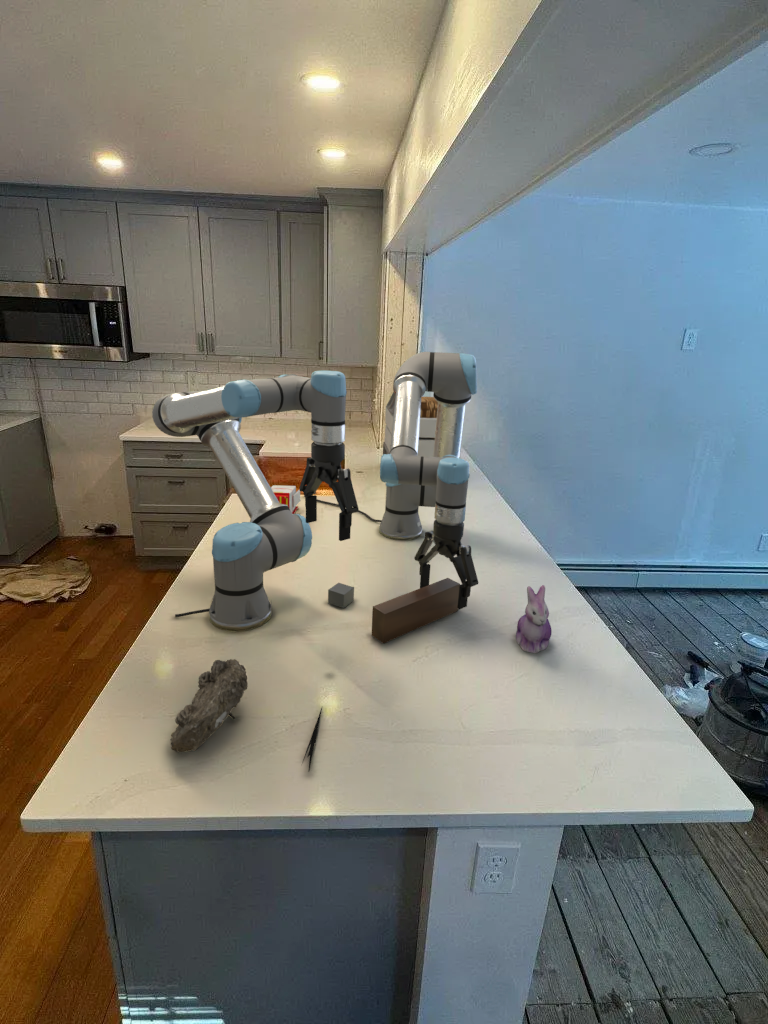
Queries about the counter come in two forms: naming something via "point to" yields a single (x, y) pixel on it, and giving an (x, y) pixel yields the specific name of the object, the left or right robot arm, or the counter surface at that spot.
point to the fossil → (210, 704)
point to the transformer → (425, 429)
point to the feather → (313, 740)
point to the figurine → (534, 623)
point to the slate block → (341, 595)
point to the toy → (287, 496)
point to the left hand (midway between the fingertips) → (327, 530)
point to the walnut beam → (414, 610)
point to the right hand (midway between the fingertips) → (442, 597)
